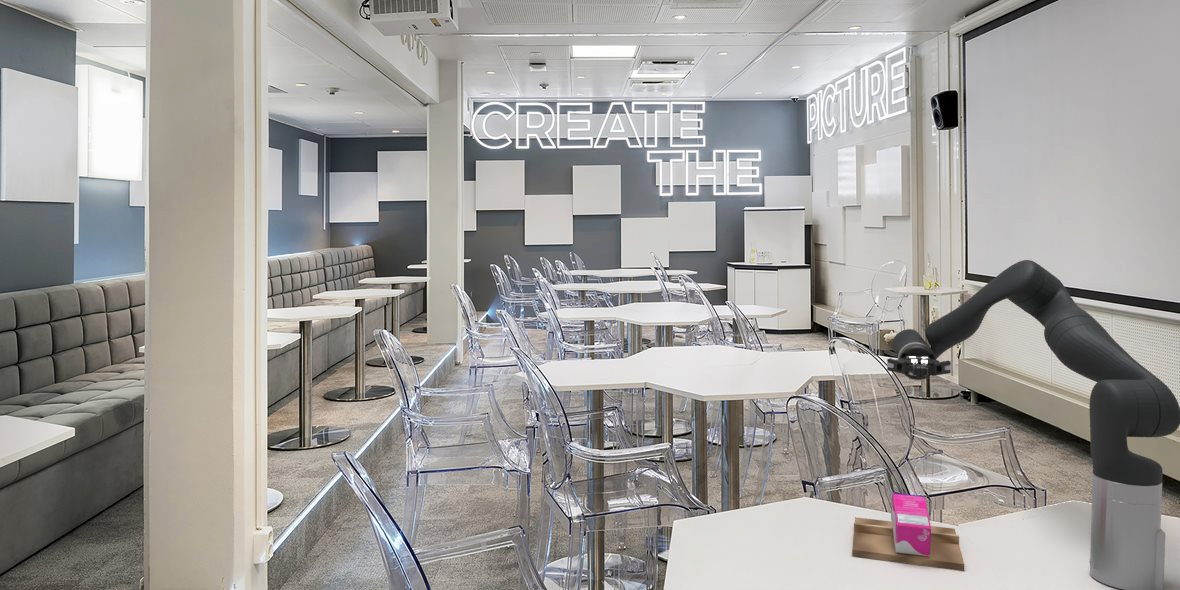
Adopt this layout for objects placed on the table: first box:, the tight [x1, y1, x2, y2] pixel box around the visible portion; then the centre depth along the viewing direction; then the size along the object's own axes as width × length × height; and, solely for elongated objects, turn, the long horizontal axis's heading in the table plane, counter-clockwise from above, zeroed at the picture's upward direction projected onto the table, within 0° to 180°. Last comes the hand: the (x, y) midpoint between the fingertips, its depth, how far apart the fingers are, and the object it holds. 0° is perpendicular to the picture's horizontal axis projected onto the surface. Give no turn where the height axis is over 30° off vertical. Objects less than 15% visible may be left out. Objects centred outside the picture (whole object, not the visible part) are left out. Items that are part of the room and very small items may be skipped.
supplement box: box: [890, 492, 932, 556], centre depth 134 cm, size 6×6×12 cm
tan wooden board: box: [851, 517, 965, 572], centre depth 137 cm, size 18×17×3 cm
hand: (920, 372), depth 148 cm, fingers closed
